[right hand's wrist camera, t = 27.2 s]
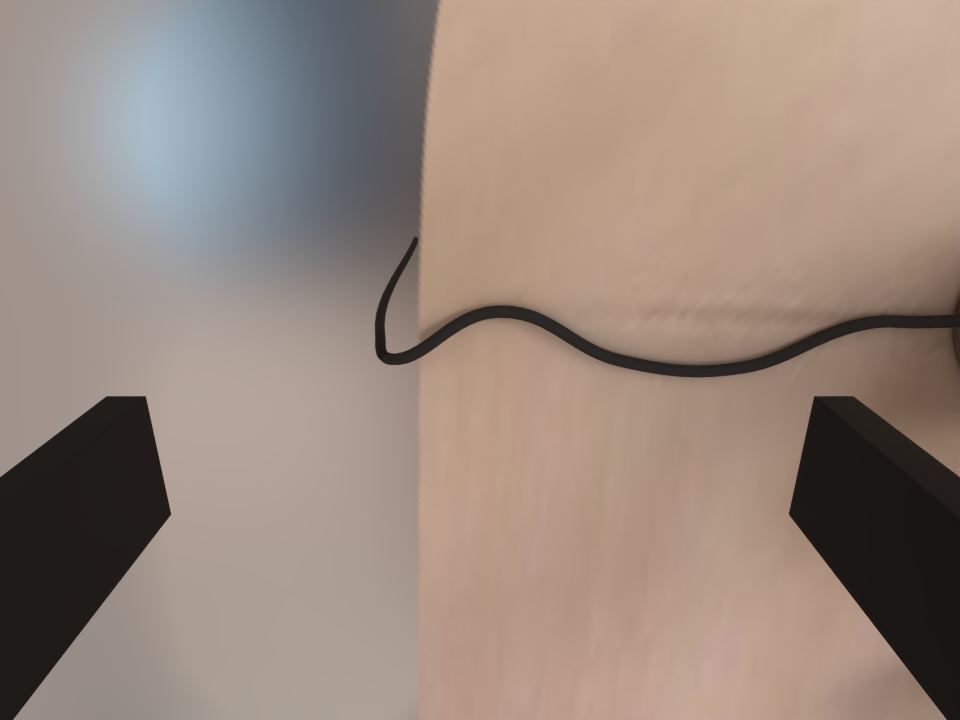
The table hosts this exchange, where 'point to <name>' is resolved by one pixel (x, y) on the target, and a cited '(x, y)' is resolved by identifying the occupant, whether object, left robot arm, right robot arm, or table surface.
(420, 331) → the table surface
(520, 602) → the table surface
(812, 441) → the right robot arm
